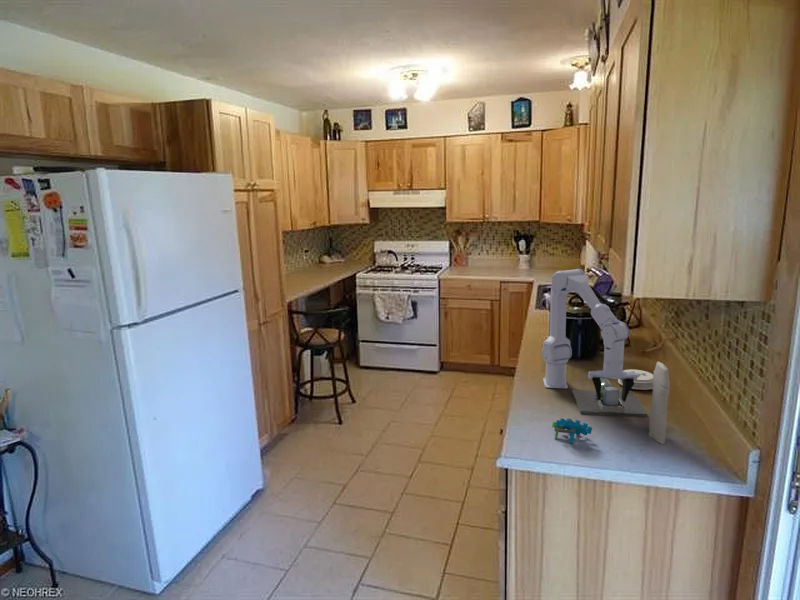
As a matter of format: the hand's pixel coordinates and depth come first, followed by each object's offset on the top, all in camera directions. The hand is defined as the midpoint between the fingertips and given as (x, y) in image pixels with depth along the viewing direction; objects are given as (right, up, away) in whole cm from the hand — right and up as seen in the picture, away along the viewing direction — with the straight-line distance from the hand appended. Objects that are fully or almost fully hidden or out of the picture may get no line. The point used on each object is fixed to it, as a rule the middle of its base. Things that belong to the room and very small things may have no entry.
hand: (610, 399), depth 162 cm
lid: (+18, +1, +21) cm, 28 cm away
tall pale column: (+6, -7, -18) cm, 20 cm away
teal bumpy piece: (-19, -8, -18) cm, 27 cm away
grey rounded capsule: (0, -2, 0) cm, 2 cm away
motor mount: (+1, -2, +5) cm, 6 cm away
